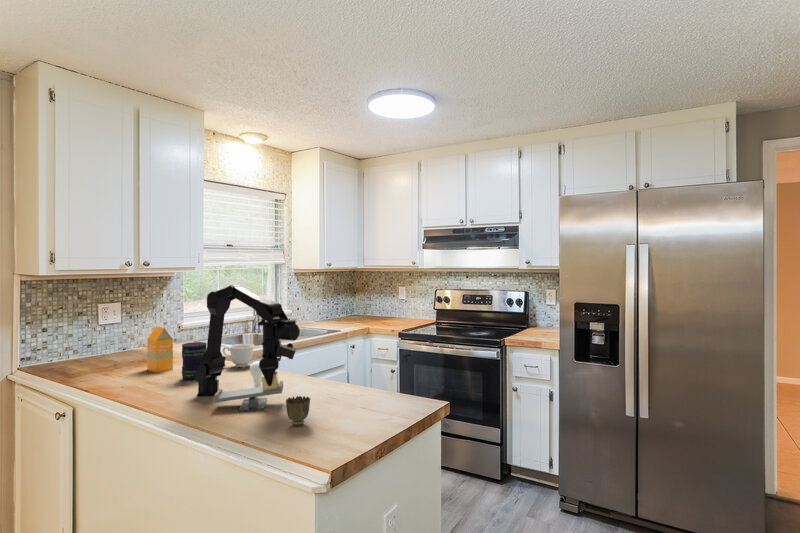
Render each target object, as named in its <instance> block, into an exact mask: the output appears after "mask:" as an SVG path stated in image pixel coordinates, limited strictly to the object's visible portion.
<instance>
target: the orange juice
mask: <svg viewBox="0 0 800 533" xmlns="http://www.w3.org/2000/svg"><path fill="white" fill-rule="evenodd" d="M146 341H147V342H146V343H147V347H146V348H147V349H146V353H147V354H146V355H147V358H146V359H147V360H146V361H147V371H150V372H153V373H161V372H165V371H172V370H173V369H174V367H173V366H174V346H173V345H174V339H173V337H172V336H171V334H170V333H169V332H168V331H167V329H166V328H165V327H162V326H155V327H154V329H153V330H152V331H151V333H150V334H149V336H148V337H147V340H146Z"/></svg>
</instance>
